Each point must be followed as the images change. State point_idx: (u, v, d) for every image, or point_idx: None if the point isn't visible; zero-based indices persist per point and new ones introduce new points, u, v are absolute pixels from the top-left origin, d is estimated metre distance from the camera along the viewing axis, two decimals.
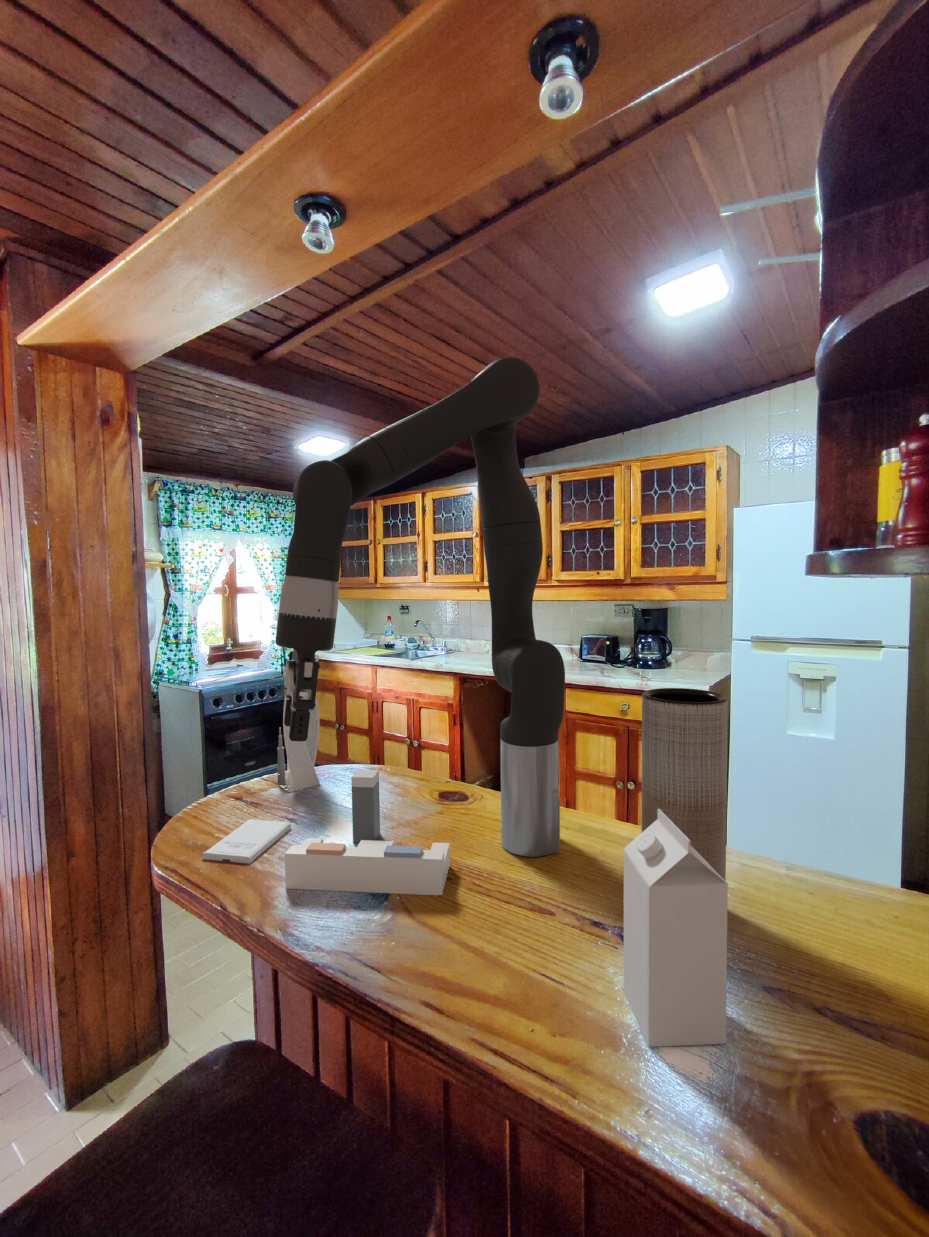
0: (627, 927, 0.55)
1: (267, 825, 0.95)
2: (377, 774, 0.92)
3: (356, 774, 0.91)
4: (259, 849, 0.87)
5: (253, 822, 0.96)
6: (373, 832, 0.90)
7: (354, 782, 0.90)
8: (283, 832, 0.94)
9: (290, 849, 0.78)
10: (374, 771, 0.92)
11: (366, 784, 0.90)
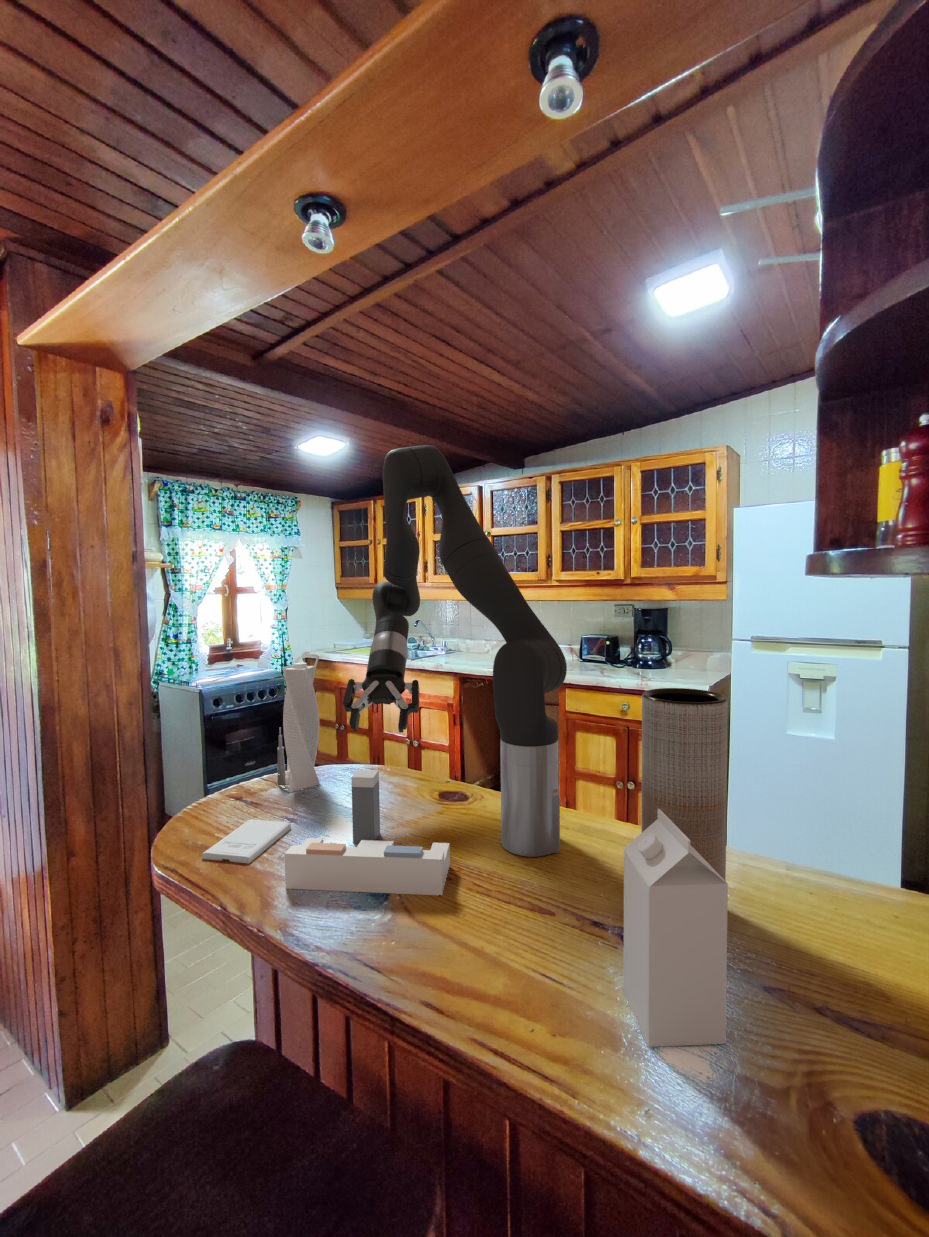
0: (627, 927, 0.55)
1: (267, 825, 0.95)
2: (377, 774, 0.92)
3: (356, 774, 0.91)
4: (259, 849, 0.87)
5: (253, 822, 0.96)
6: (373, 832, 0.90)
7: (354, 782, 0.90)
8: (283, 832, 0.94)
9: (290, 849, 0.78)
10: (374, 771, 0.92)
11: (366, 784, 0.90)
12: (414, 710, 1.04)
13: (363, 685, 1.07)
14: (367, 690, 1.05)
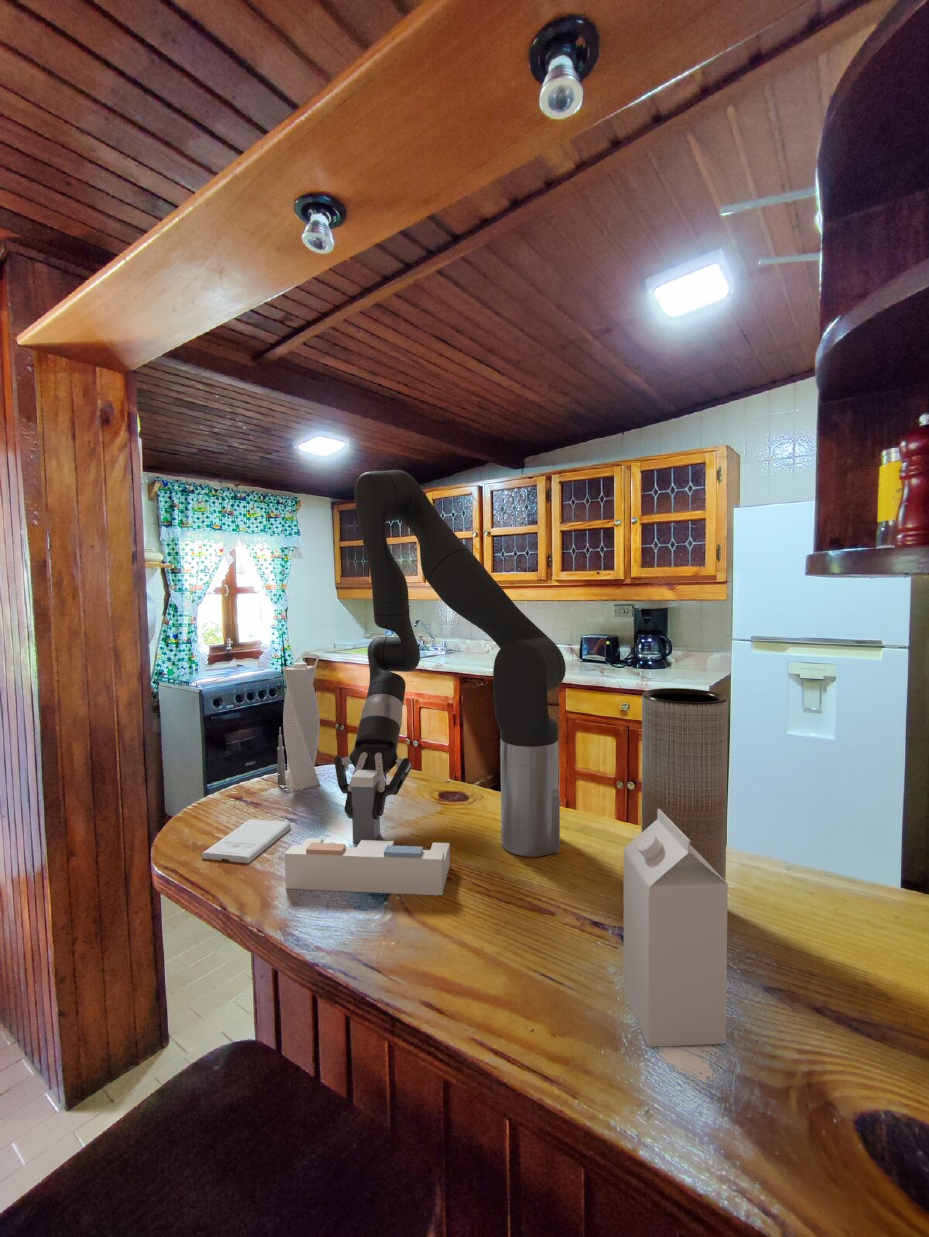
0: (627, 927, 0.55)
1: (267, 825, 0.95)
2: (377, 774, 0.92)
3: (356, 774, 0.91)
4: (258, 849, 0.87)
5: (253, 822, 0.96)
6: (373, 832, 0.90)
7: (354, 782, 0.90)
8: (283, 832, 0.94)
9: (290, 849, 0.78)
10: (374, 771, 0.92)
11: (366, 784, 0.90)
12: (392, 792, 0.92)
13: (352, 758, 0.96)
14: (358, 766, 0.94)
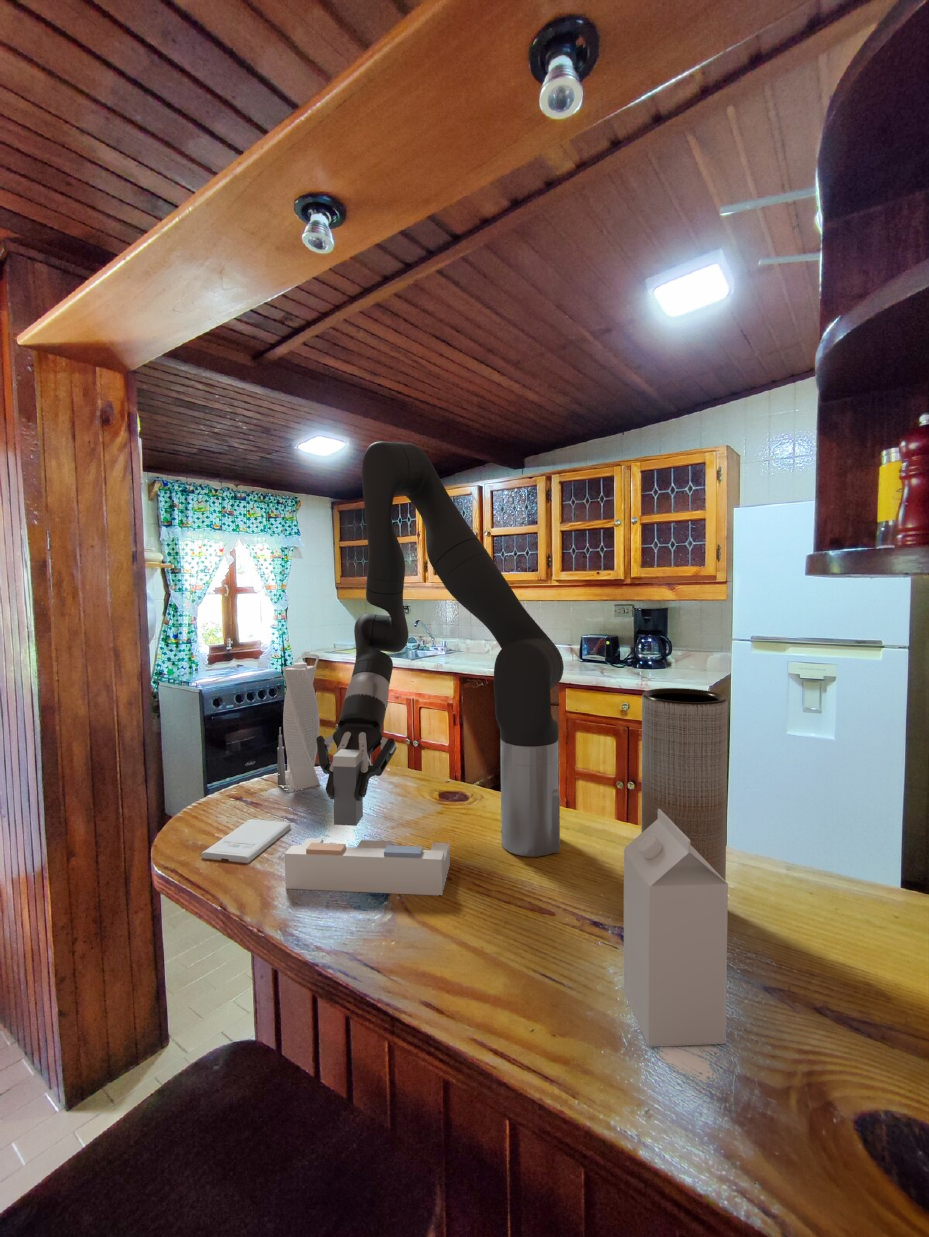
0: (627, 927, 0.55)
1: (267, 825, 0.95)
2: (360, 754, 0.89)
3: (338, 753, 0.87)
4: (258, 849, 0.87)
5: (253, 822, 0.96)
6: (355, 813, 0.86)
7: (336, 761, 0.86)
8: (283, 832, 0.94)
9: (290, 849, 0.78)
10: (357, 751, 0.89)
11: (348, 764, 0.86)
12: (376, 773, 0.89)
13: (335, 738, 0.92)
14: (341, 746, 0.90)
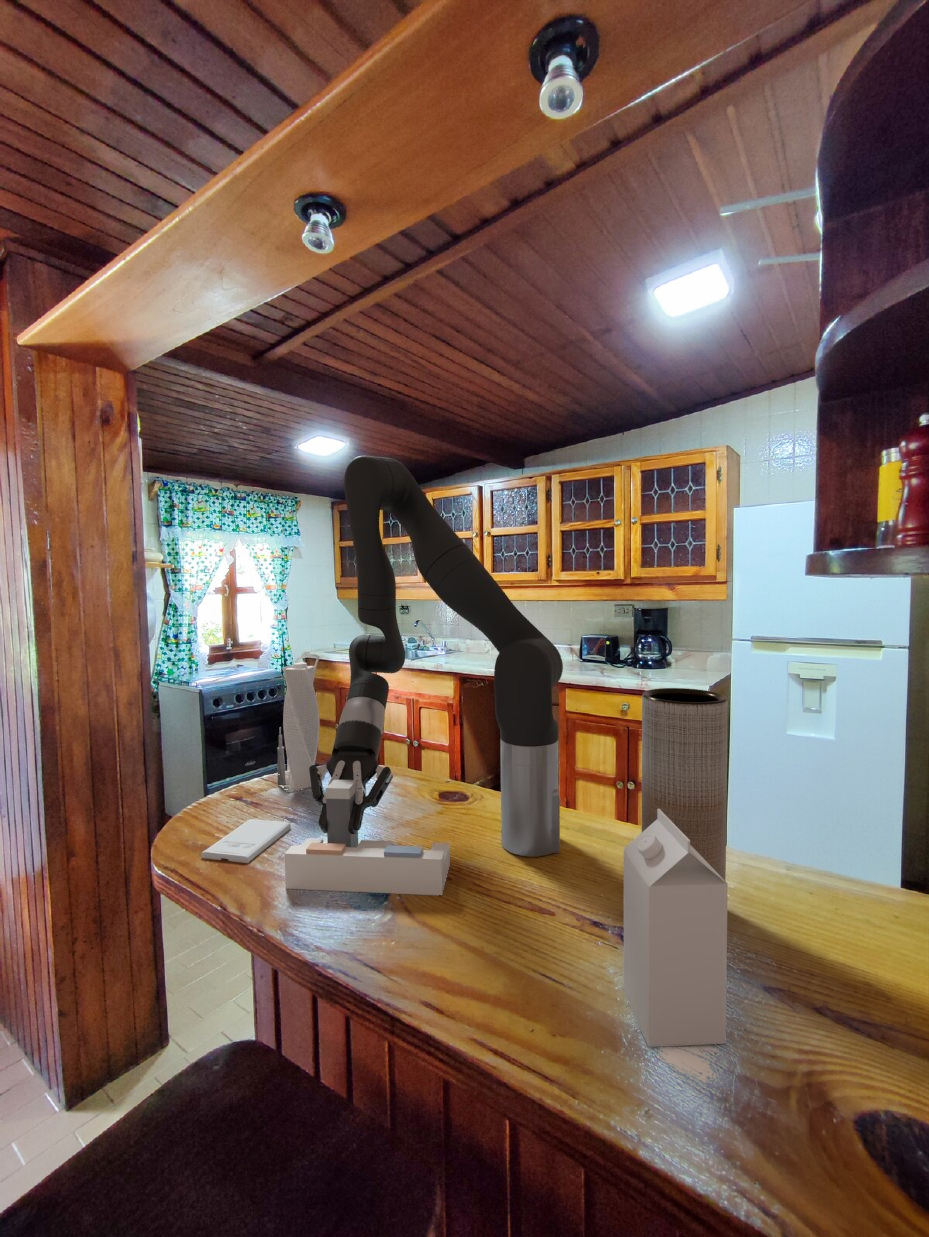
0: (627, 927, 0.55)
1: (267, 825, 0.95)
2: (354, 784, 0.85)
3: (331, 784, 0.84)
4: (258, 849, 0.87)
5: (253, 822, 0.97)
6: None
7: (329, 793, 0.82)
8: (282, 832, 0.94)
9: (290, 849, 0.78)
10: (351, 781, 0.85)
11: (342, 796, 0.82)
12: (371, 804, 0.85)
13: (329, 767, 0.89)
14: (334, 775, 0.87)
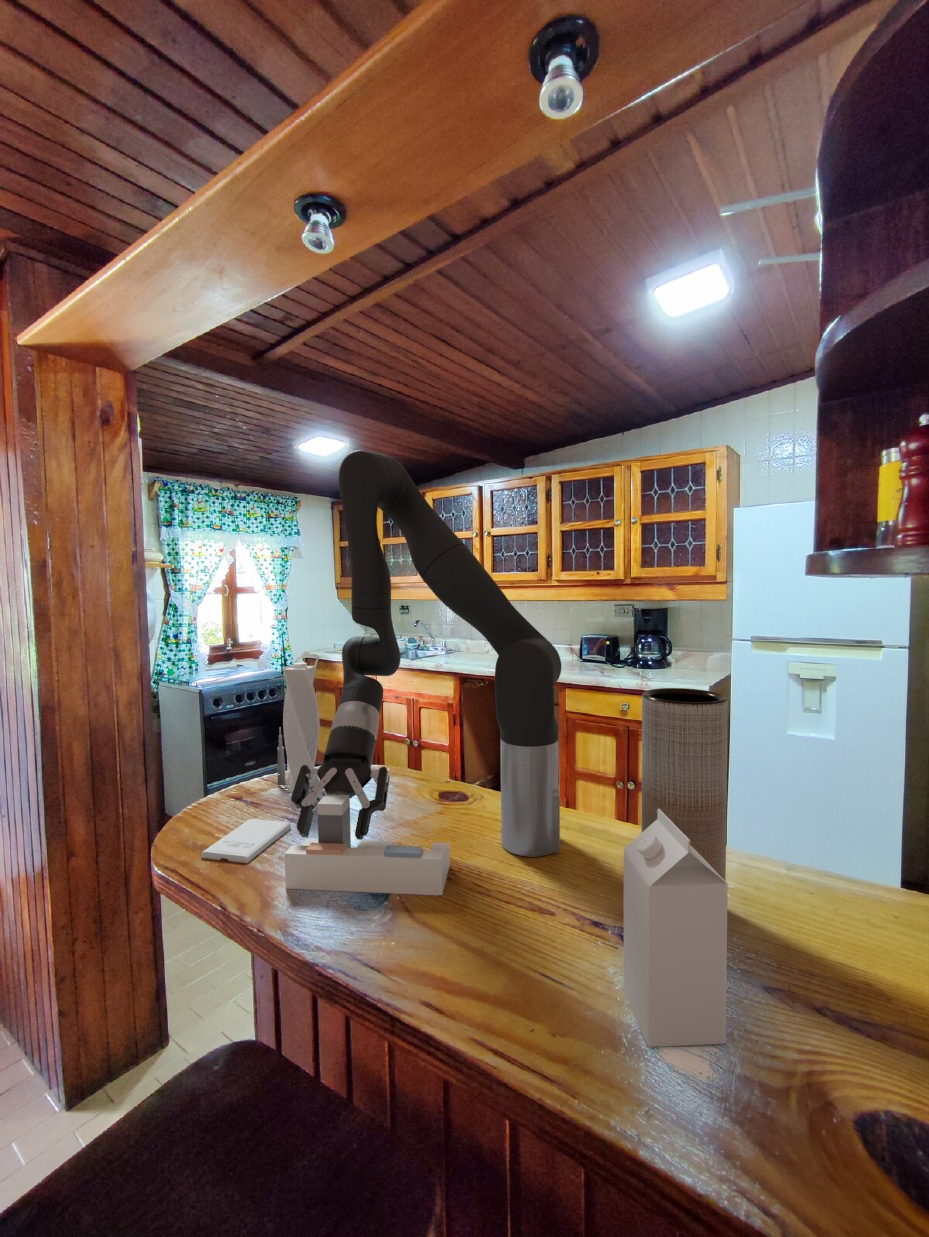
0: (627, 927, 0.55)
1: (267, 825, 0.95)
2: (347, 799, 0.81)
3: (323, 800, 0.80)
4: (257, 849, 0.87)
5: (253, 821, 0.97)
6: None
7: (320, 809, 0.79)
8: (282, 832, 0.94)
9: (290, 849, 0.78)
10: (344, 796, 0.81)
11: (334, 812, 0.79)
12: (379, 808, 0.82)
13: (318, 773, 0.85)
14: (322, 781, 0.83)
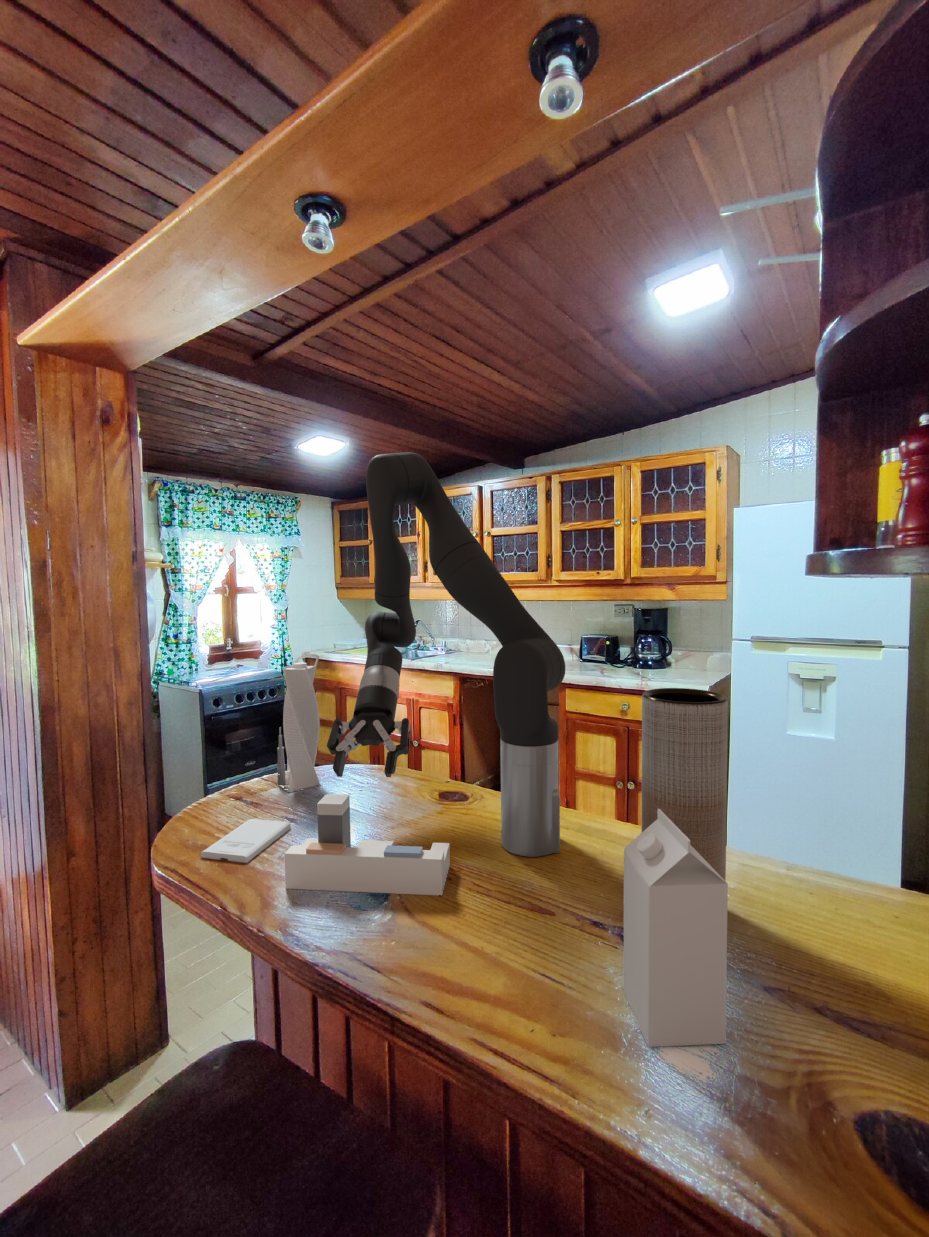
0: (627, 927, 0.55)
1: (267, 825, 0.95)
2: (347, 799, 0.81)
3: (323, 800, 0.80)
4: (257, 849, 0.87)
5: (253, 821, 0.97)
6: None
7: (320, 809, 0.79)
8: (282, 832, 0.94)
9: (290, 849, 0.78)
10: (344, 796, 0.81)
11: (334, 812, 0.79)
12: (403, 752, 0.96)
13: (350, 725, 0.99)
14: (353, 731, 0.97)
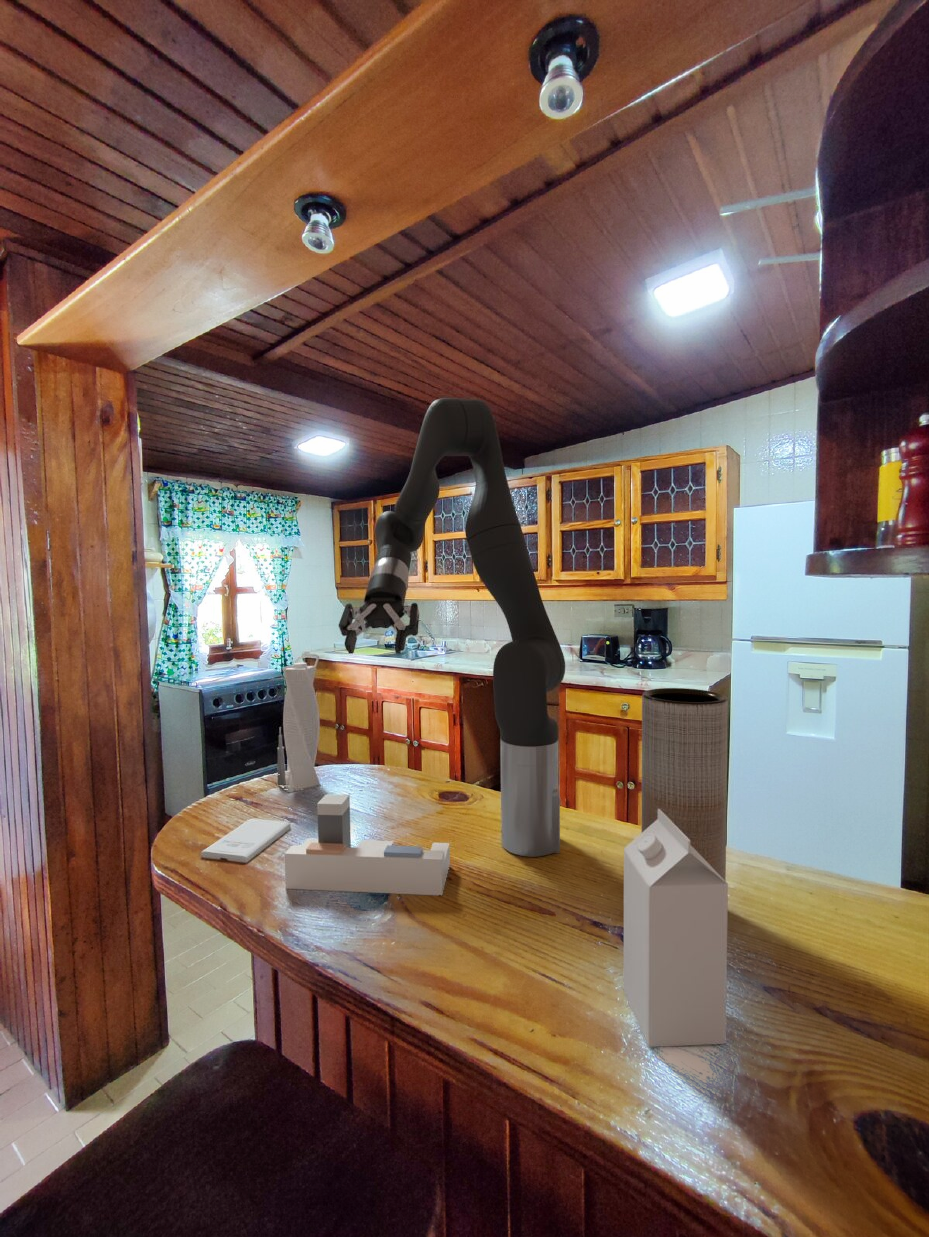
0: (627, 927, 0.55)
1: (267, 824, 0.95)
2: (347, 799, 0.81)
3: (323, 800, 0.80)
4: (257, 849, 0.87)
5: (253, 821, 0.97)
6: None
7: (320, 809, 0.79)
8: (282, 832, 0.94)
9: (290, 849, 0.78)
10: (344, 796, 0.81)
11: (334, 812, 0.79)
12: (412, 632, 0.99)
13: (360, 609, 1.03)
14: (364, 613, 1.01)
